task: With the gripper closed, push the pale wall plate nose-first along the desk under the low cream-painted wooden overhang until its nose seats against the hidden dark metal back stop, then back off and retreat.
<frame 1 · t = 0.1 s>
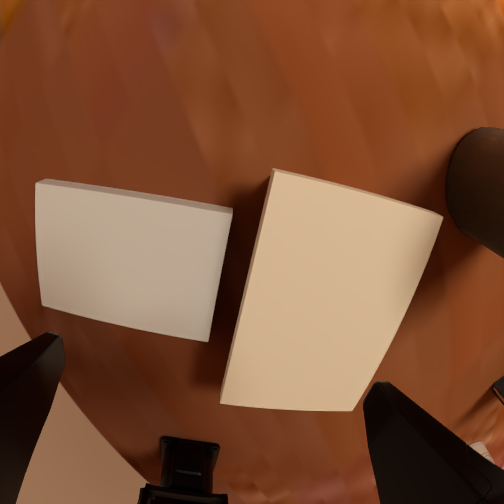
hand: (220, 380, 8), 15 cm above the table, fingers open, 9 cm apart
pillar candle: (485, 182, 22), on the table
pale wall plate: (127, 255, 23), on the table
overhang: (312, 290, 24), on the table
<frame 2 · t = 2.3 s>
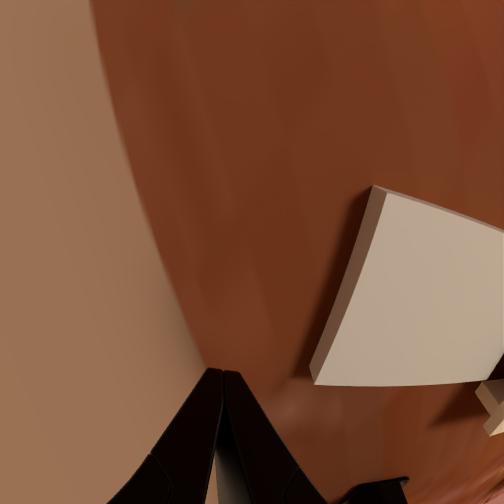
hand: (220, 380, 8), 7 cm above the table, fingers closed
pale wall plate: (441, 298, 16), on the table
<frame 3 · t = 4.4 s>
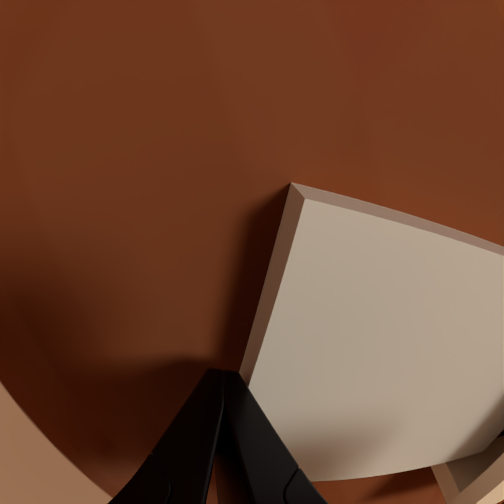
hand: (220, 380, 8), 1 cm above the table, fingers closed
pale wall plate: (427, 361, 10), on the table
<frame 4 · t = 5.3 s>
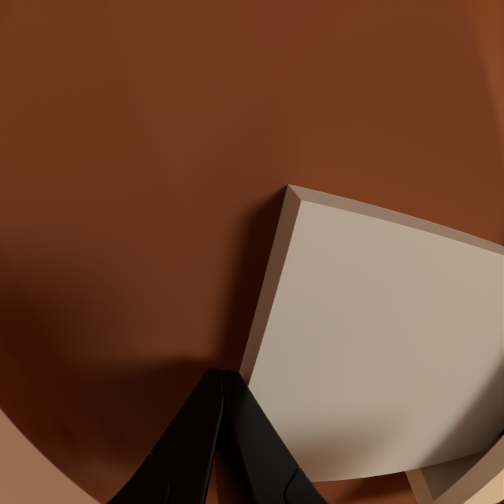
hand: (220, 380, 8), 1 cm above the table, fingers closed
pale wall plate: (427, 360, 10), on the table, touching gripper
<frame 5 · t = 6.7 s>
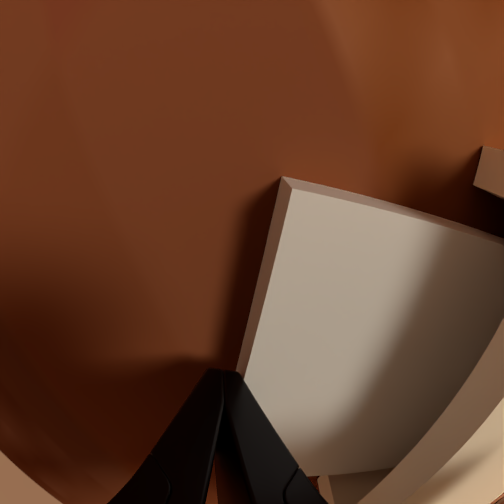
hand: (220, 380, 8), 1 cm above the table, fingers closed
pale wall plate: (425, 352, 10), on the table, touching gripper
overhang: (481, 368, 10), on the table
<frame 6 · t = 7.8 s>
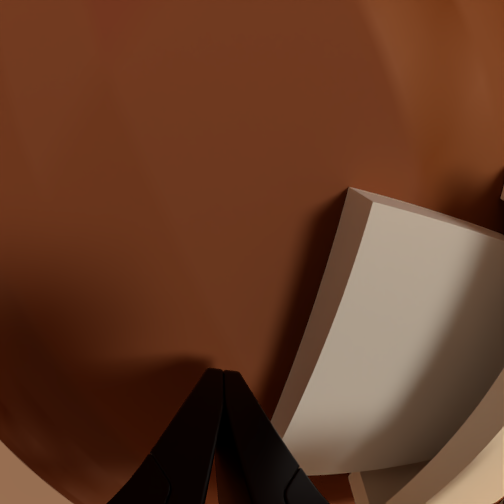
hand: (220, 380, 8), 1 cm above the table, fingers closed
pale wall plate: (456, 351, 11), on the table
overhang: (500, 364, 11), on the table
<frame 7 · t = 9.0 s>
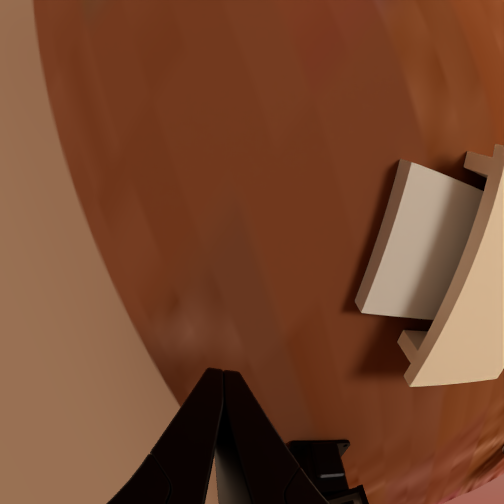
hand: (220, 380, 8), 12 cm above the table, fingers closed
pale wall plate: (450, 249, 21), on the table
overhang: (478, 264, 21), on the table
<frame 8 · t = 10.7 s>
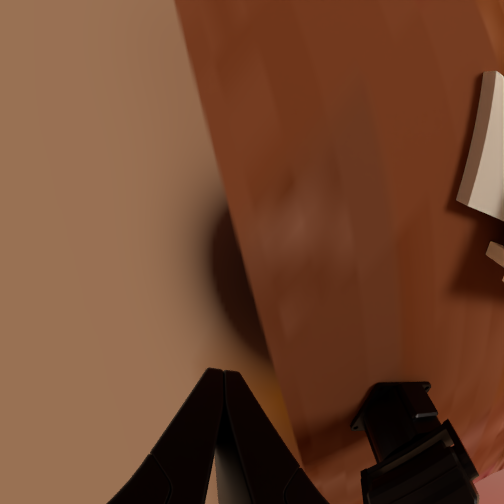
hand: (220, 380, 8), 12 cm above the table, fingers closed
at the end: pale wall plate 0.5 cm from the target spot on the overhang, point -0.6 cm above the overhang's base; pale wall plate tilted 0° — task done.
